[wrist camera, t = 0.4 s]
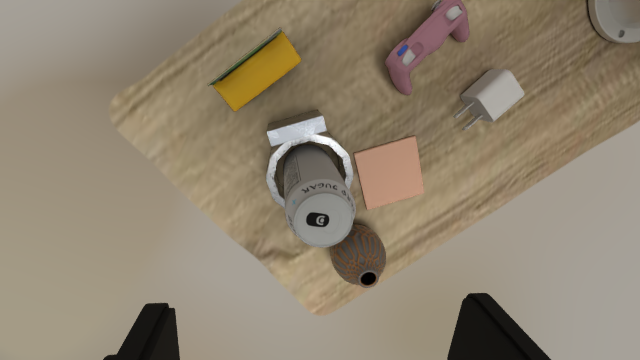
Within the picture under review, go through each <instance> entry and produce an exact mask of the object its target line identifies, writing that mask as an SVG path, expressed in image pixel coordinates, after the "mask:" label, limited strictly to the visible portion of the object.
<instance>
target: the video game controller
mask: <svg viewBox="0 0 640 360" xmlns="http://www.w3.org/2000/svg"><path fill="white" fill-rule="evenodd" d="M440 2H441V0H438V1H436V2H435V3H434V4H433V6H432V9H431V11H433V10H434V12H433V13H432V14H431V16H430V17H429V18H428V19H427V20H426V21H425V22H424V23H423V24H422V25H421V26H420V27H419V28H418V29H417V30H416V31H415V32H414V33H413V34H412V35H411V36H410V37H409V38H406V39H404V40H403V41H402V42H400V43H399V44H398V45H397V46H396V47H395V48H394V49H393V50H392V52H391V53H390V54H389V56H388V57H387V59H386V61H385V65H386V66H387V67H388V70H389V74H390V77H391V79H392V81H393V83H394V85H395V87H396V88H397V89H398V90H399V91H400V92H401V93H403V94H405V95H410V94H411V92H412V85H411V81H410V71H411V70H412V69H413V68H415V67H416V66H417V65H418V64H419V63H420V62H421V61H422V60H423V59H424V58H425V57H426V56H427V55H429V54H431V53H433V52H434V51H436V50H437V49H438V48H439V47H440V46H441V45H442V44H443V42H444V41H445V39H446V38H447V36H448V35H449V34H450V33H451V34H452V35H453V37H454V38H455V39H456V40H457V41H459V42H465V41H466V40H467V39H468V37H469V25H468V19H467V11H466V8H465V7H464V5H463V3H462V2H461V0H443V1H442V2H441V3H440Z"/></svg>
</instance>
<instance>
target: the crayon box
mask: <svg viewBox="0 0 640 360" xmlns="http://www.w3.org/2000/svg"><path fill="white" fill-rule="evenodd" d="M281 29H282V27H280V28H279V29H277V30H276V31H275V32H274V33H272V34H271V35H270V36H269V37H267V38H266V39H265V40H264V41H262V42H261V43H260V44H259V45H257V46H256V47H255V48H253V49H252V50H251V51H249V52H248V53H247V54H246V55H244V56H243V57H242V58H240V59H239V60H238V61H237V62H235V63H234V64H233V65H231V66H230V67H229V68H228V69H226V70H225V71H224V72H223V73H222V74H220V75H219V76H218V77H216V78H215V79H214V80H212V81H211V82H210V83H208V84H207V86H209V85H213V87H214V88H215V89H216V90H217V92H218V93H219V94H220V95H221V96H222V98H223V99H224V100H225V101H226V102H227V104H228V105H229V106H230V107H231V108H232V110H233V111H237V110H238V109H240V108H241V107H242V106H244V105H245V104H247V103H248V102H249V101H250V100H252V99H253V98H254V97H256V96H257V95H258V94H260V93H261V92H262V91H264V90H265V89H266V88H268V87H269V86H270V85H272V84H273V83H274V82H276V81H277V80H278V79H280V78H281V77H282V76H283V75H285V74H286V73H287V72H289V71H290V70H291V69H292V68H294V67H295V66H296V65H297V64H299V63H300V62H301V58H300V56H299V55H298V53H297V51H296V50H295V48H294V47H293V45H292V44H291V42H290V41H289V40H288V38H287V36H286V35H285V34H284V32H283V31H282V30H281Z"/></svg>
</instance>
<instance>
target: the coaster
mask: <svg viewBox="0 0 640 360" xmlns="http://www.w3.org/2000/svg"><path fill="white" fill-rule="evenodd" d="M353 154H354V158H355V162H356V166H357V171H358V175H359V179H360V184H361V188H362V192H363V196H364V201H365V205H366V209H367V210H369V209H373V208H376V207H379V206H383V205H386V204H389V203H393V202H396V201H399V200H403V199H406V198H409V197H413V196H416V195H419V194H423V193H424V187H423V180H422V174H421V167H420V161H419V155H418V148H417V142H416V136H414V135H413V136H410V137H407V138H403V139H400V140H396V141H393V142H390V143H386V144H383V145H379V146H376V147H373V148H369V149H366V150H362V151H359V152H356V153H353Z"/></svg>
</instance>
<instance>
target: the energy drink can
mask: <svg viewBox="0 0 640 360" xmlns="http://www.w3.org/2000/svg"><path fill="white" fill-rule="evenodd" d="M283 174H284V195H285V215H286V221H287V223H288V226H289V227H290V229H291V231H292V232H293V233H294V234H295V235H296V236H298V237H299V238H300V239H301V240H302V241H303V242H305V243H306V244H308V245H311V246H314V247H329V246H332V245H335V244H337V243H339V242H340V241H342V240H343V239H344V238H345V237H346V236H347V235H348V233H349V232H350V230H351V227H352V225H353V220H354V217H355V212H356V206H355V201H354V198H353V196H352V194H351V192H350V190H349V189H348V187H347V185H346V184H345V182H344V180H343V179H342V177H341V175H340V173H339V172H338V170H337V168H336V167H335V165H334V163H333V162H332V160H331V158H330V157H329V155H328V154H327V153H326V151H324V150H323V149H322V148H320V147H318V146H314V145H303V146H299V147H297V148H295V149H294V150H292V151H291V152H290V153H289V155H288V156H287V157H286V159H285V162H284V167H283Z"/></svg>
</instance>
